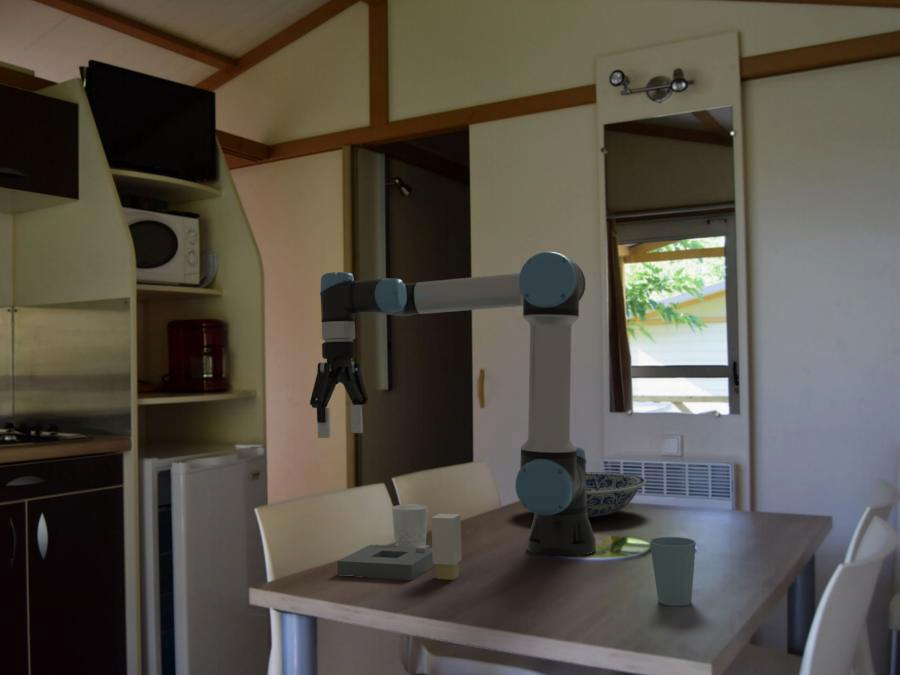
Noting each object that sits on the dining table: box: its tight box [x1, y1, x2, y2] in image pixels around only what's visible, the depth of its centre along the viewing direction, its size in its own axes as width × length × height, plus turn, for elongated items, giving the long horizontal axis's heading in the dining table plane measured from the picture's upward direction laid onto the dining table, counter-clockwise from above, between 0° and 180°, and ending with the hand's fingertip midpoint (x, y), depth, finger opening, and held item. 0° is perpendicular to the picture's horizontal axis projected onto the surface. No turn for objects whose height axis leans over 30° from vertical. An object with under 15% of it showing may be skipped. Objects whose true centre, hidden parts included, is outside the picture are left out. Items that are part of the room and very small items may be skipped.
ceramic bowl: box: [586, 471, 647, 518], centre depth 234 cm, size 34×34×10 cm
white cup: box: [392, 503, 428, 547], centre depth 194 cm, size 8×8×10 cm
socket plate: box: [336, 544, 436, 581], centre depth 178 cm, size 16×16×4 cm
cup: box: [649, 536, 697, 607], centre depth 148 cm, size 8×8×10 cm
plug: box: [431, 513, 463, 581], centre depth 169 cm, size 4×4×12 cm
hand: (341, 435), depth 193 cm, fingers open, 13 cm apart
